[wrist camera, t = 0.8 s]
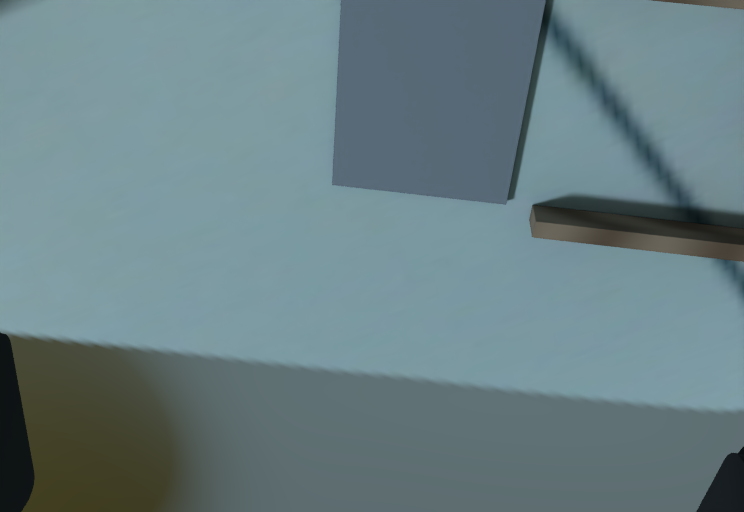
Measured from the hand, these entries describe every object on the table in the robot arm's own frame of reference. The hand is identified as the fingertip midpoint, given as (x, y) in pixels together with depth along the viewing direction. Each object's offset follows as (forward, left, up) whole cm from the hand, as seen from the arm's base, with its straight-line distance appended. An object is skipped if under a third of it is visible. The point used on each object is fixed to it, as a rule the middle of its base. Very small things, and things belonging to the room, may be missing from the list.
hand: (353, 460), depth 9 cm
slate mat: (+4, +3, -31) cm, 31 cm away
